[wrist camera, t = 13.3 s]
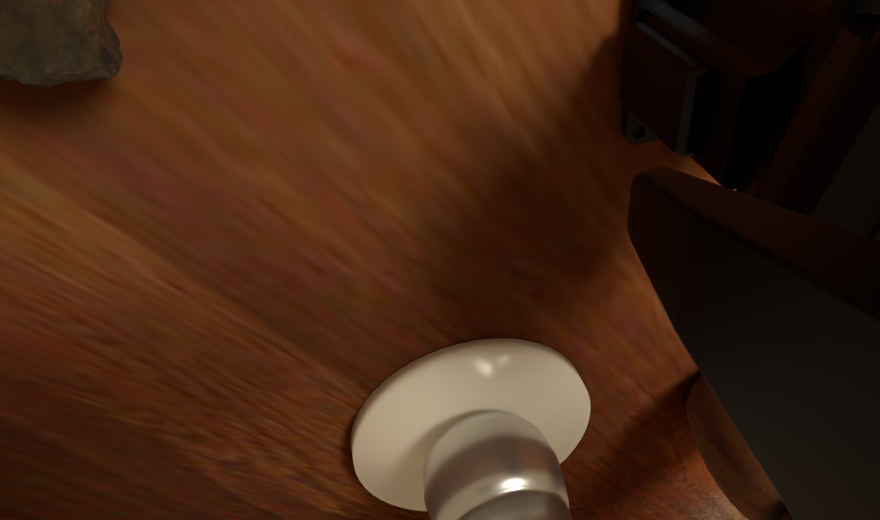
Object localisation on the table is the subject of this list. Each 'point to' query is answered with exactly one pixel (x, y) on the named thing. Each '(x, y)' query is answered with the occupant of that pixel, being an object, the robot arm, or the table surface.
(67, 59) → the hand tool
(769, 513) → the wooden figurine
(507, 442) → the plastic bottle
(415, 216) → the table surface
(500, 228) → the table surface
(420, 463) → the saucer
